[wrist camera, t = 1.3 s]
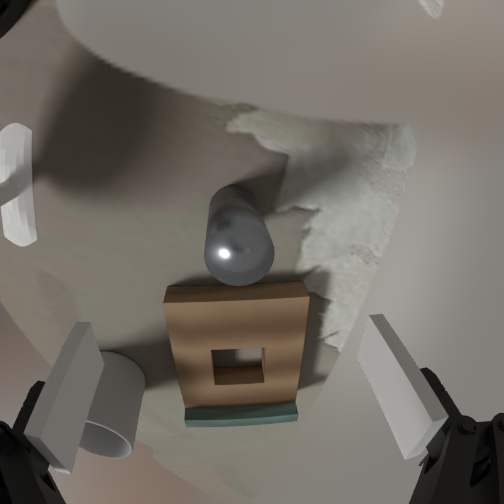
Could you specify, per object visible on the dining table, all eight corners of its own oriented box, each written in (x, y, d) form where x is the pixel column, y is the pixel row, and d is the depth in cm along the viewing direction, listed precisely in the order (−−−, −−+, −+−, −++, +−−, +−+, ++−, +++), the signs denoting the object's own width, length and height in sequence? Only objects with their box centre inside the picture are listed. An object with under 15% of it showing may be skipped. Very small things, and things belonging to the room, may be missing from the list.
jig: (167, 286, 32) (159, 315, 27) (302, 281, 33) (315, 308, 28) (188, 398, 39) (186, 427, 35) (290, 392, 40) (296, 420, 36)
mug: (145, 357, 36) (130, 429, 26) (146, 398, 39) (136, 464, 29) (58, 338, 34) (26, 401, 24) (68, 381, 37) (46, 440, 27)
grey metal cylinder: (208, 185, 28) (202, 223, 19) (257, 184, 28) (275, 221, 19) (210, 231, 30) (206, 287, 21) (257, 230, 30) (273, 284, 21)
